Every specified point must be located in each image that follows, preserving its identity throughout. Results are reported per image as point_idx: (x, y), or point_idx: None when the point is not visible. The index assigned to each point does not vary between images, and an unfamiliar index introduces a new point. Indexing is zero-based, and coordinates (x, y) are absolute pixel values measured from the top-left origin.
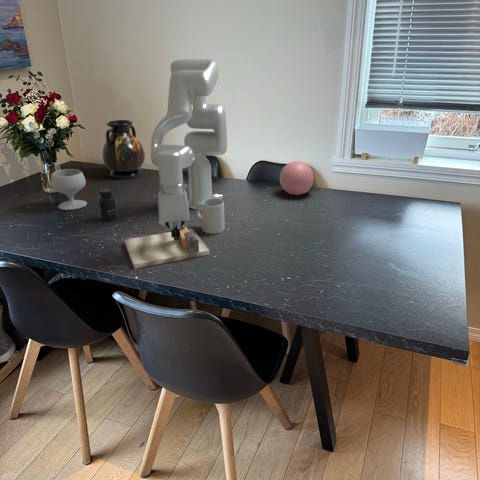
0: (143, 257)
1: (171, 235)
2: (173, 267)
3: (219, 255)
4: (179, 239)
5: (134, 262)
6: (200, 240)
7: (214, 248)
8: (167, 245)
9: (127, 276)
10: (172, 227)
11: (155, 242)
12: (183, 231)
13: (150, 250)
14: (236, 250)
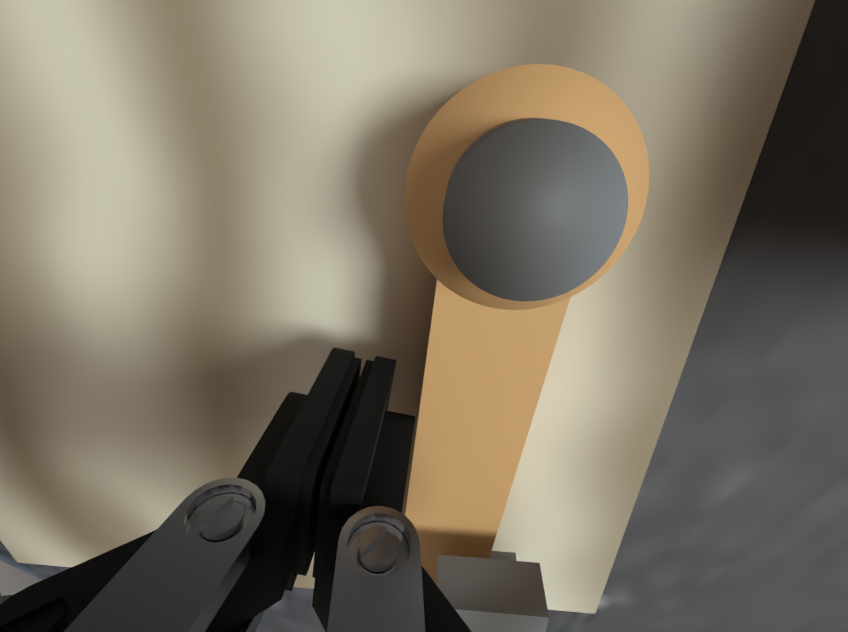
0: (59, 515)
1: (287, 403)
2: (295, 598)
3: (638, 605)
4: (419, 337)
5: (10, 543)
6: (635, 456)
7: (679, 524)
8: (259, 415)
9: (31, 573)
10: (233, 625)
11: (115, 297)
12: (501, 357)
13: (93, 440)
14: (804, 604)
